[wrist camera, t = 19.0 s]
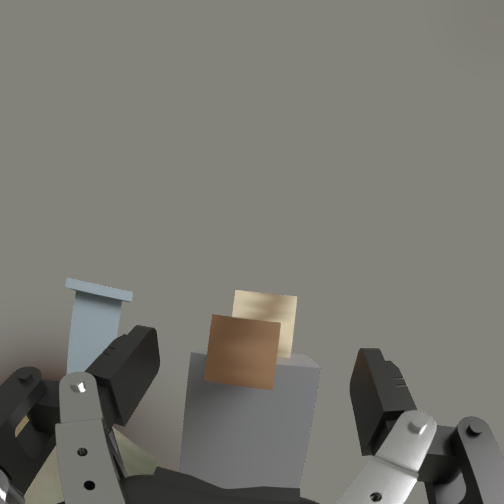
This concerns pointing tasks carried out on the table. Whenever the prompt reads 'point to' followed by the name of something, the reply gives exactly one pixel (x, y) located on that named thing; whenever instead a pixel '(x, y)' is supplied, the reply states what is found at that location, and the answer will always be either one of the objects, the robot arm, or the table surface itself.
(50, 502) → the table surface
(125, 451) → the table surface
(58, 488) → the table surface
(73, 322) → the tall plinth
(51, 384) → the robot arm
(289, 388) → the grey tall block
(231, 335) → the brown wooden bar
